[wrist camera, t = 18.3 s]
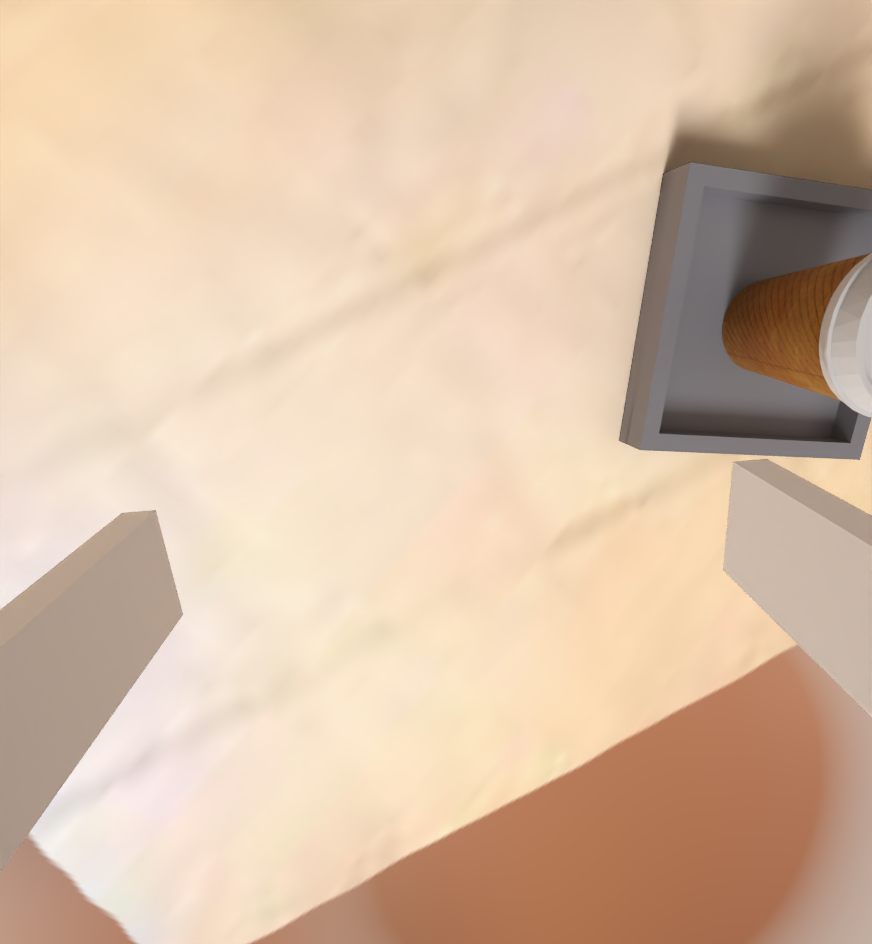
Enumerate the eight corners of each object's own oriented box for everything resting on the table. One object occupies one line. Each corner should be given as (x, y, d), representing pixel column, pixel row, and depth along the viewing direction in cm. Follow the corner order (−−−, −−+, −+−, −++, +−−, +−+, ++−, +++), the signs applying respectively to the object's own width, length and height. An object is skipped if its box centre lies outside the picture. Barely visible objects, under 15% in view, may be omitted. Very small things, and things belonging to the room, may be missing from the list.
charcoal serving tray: (663, 173, 38) (690, 162, 35) (889, 206, 41) (931, 198, 38) (619, 440, 42) (640, 449, 40) (826, 450, 46) (859, 459, 43)
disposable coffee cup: (823, 243, 40) (1020, 216, 28) (819, 379, 43) (998, 404, 31) (697, 267, 39) (851, 248, 27) (702, 405, 42) (843, 439, 30)
